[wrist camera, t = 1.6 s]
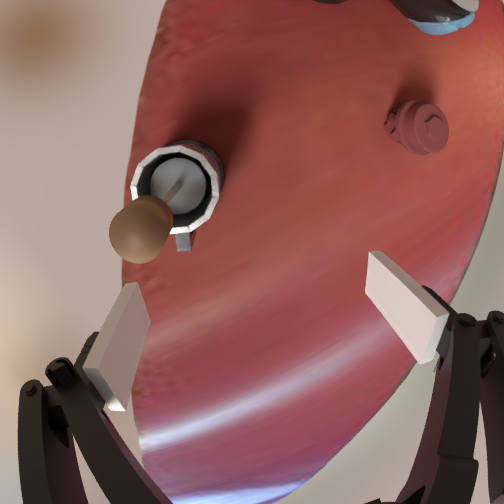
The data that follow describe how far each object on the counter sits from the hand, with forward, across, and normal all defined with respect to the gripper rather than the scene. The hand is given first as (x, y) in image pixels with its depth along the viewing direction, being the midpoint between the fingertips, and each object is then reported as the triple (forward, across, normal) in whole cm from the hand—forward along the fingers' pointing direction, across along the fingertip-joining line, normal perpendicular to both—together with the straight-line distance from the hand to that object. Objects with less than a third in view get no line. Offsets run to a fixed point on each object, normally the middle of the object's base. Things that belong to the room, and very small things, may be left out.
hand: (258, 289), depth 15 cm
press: (+35, -8, +1) cm, 36 cm away
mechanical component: (+36, +32, +9) cm, 49 cm away
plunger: (+27, -8, +2) cm, 28 cm away
